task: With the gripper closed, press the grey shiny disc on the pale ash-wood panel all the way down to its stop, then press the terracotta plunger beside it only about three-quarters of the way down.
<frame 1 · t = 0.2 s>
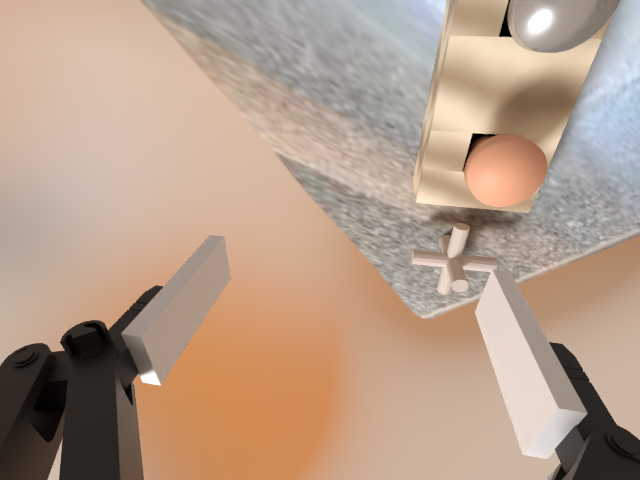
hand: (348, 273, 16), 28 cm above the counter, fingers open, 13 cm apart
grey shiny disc: (544, 5, 24), point 8 cm above the counter, slide at 0.0 cm
terracotta plunger: (494, 161, 30), point 8 cm above the counter, slide at 0.0 cm
panel housing: (489, 82, 34), on the counter
pipe connector: (445, 239, 45), on the counter
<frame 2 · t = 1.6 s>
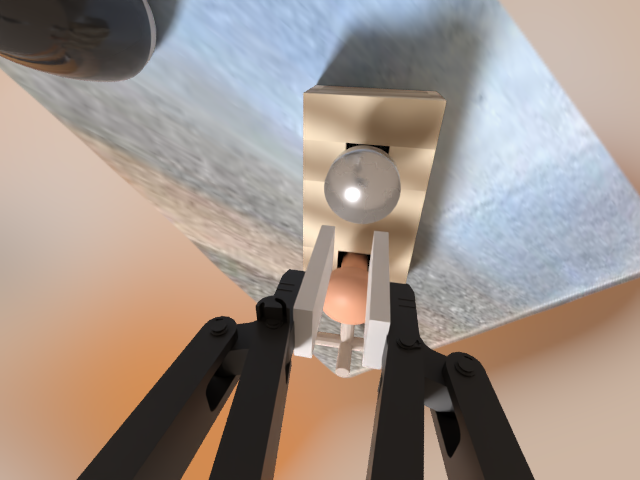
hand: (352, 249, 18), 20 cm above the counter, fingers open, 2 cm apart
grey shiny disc: (364, 173, 28), point 8 cm above the counter, slide at 0.0 cm
pump dispenser: (126, 20, 32), on the counter
terracotta plunger: (352, 279, 34), point 8 cm above the counter, slide at 0.0 cm
panel housing: (362, 197, 38), on the counter
pipe connector: (349, 315, 49), on the counter
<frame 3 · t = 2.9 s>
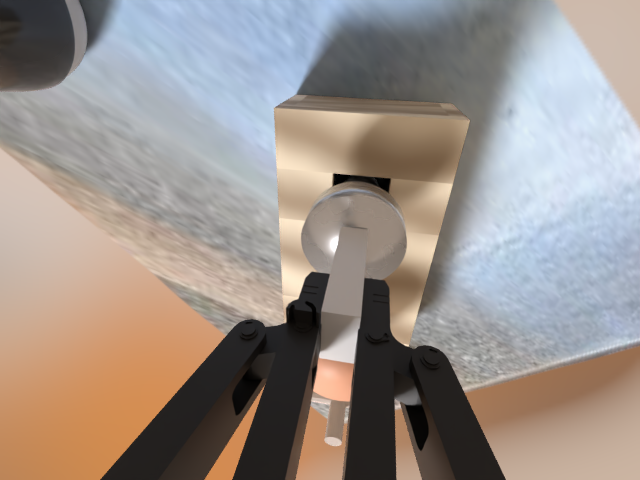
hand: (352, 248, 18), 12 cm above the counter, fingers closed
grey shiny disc: (357, 214, 21), point 8 cm above the counter, slide at 0.4 cm, touching gripper
pump dispenser: (51, 11, 25), on the counter
terracotta plunger: (344, 339, 27), point 8 cm above the counter, slide at 0.0 cm
panel housing: (357, 231, 31), on the counter
pipe connector: (343, 359, 42), on the counter
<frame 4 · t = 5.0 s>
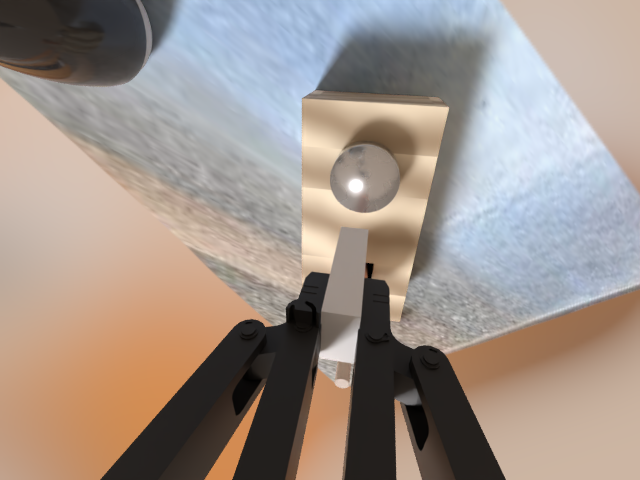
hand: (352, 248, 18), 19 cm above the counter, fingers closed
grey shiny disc: (366, 167, 30), point 4 cm above the counter, slide at 3.8 cm
pump dispenser: (122, 24, 32), on the counter
terracotta plunger: (352, 288, 33), point 8 cm above the counter, slide at 0.0 cm
panel housing: (362, 204, 37), on the counter
pipe connector: (349, 323, 48), on the counter
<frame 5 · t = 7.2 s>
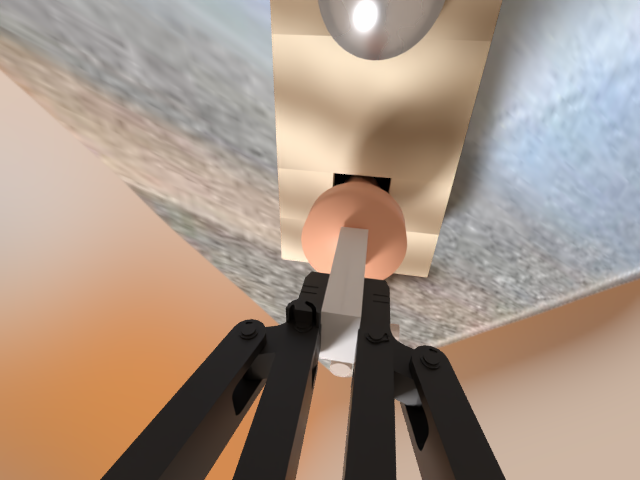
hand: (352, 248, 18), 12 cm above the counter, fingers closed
terracotta plunger: (357, 214, 21), point 8 cm above the counter, slide at 0.2 cm, touching gripper
panel housing: (371, 99, 25), on the counter
pipe connector: (351, 291, 35), on the counter
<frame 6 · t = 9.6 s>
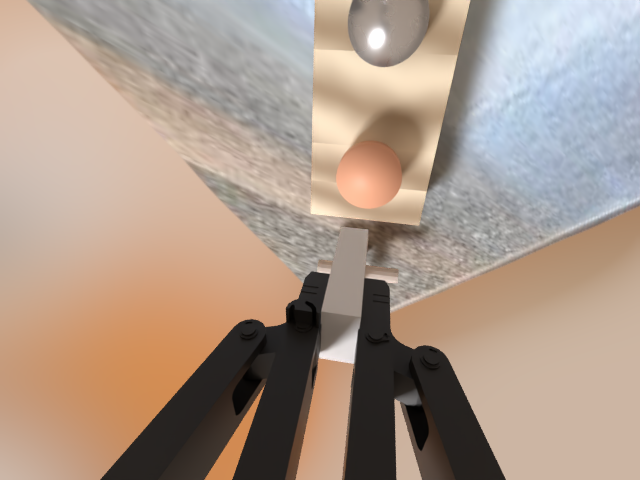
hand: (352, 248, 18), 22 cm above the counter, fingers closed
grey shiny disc: (387, 24, 27), point 4 cm above the counter, slide at 3.8 cm
terracotta plunger: (370, 166, 32), point 6 cm above the counter, slide at 2.6 cm
panel housing: (378, 94, 34), on the counter
pipe connector: (360, 249, 45), on the counter
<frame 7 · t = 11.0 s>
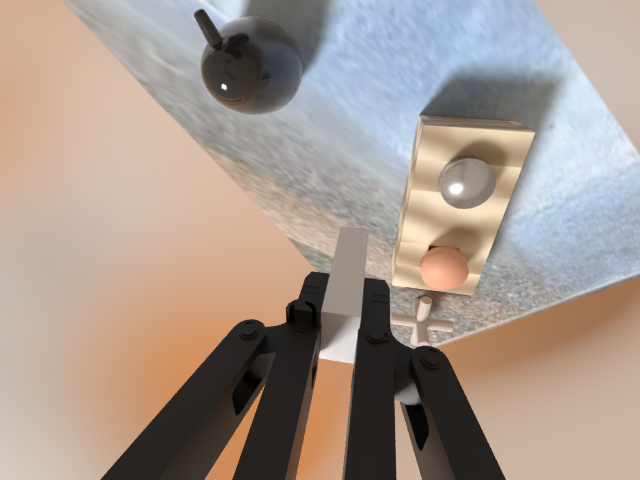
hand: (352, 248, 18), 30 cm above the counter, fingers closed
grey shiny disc: (461, 174, 40), point 4 cm above the counter, slide at 3.8 cm
pump dispenser: (270, 64, 41), on the counter
terracotta plunger: (440, 257, 45), point 6 cm above the counter, slide at 2.6 cm
panel housing: (444, 202, 47), on the counter
pipe connector: (418, 301, 58), on the counter
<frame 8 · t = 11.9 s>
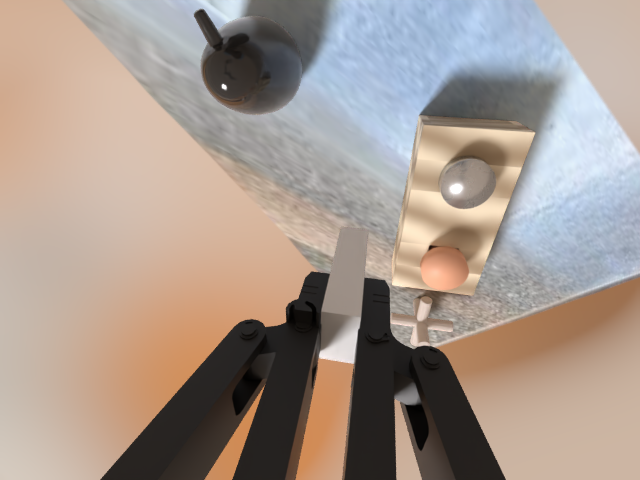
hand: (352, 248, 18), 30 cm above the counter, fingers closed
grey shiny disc: (461, 174, 40), point 4 cm above the counter, slide at 3.8 cm
pump dispenser: (270, 64, 41), on the counter
terracotta plunger: (440, 257, 45), point 6 cm above the counter, slide at 2.6 cm
panel housing: (444, 202, 47), on the counter
pipe connector: (418, 301, 58), on the counter
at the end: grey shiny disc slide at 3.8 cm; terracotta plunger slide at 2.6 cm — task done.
